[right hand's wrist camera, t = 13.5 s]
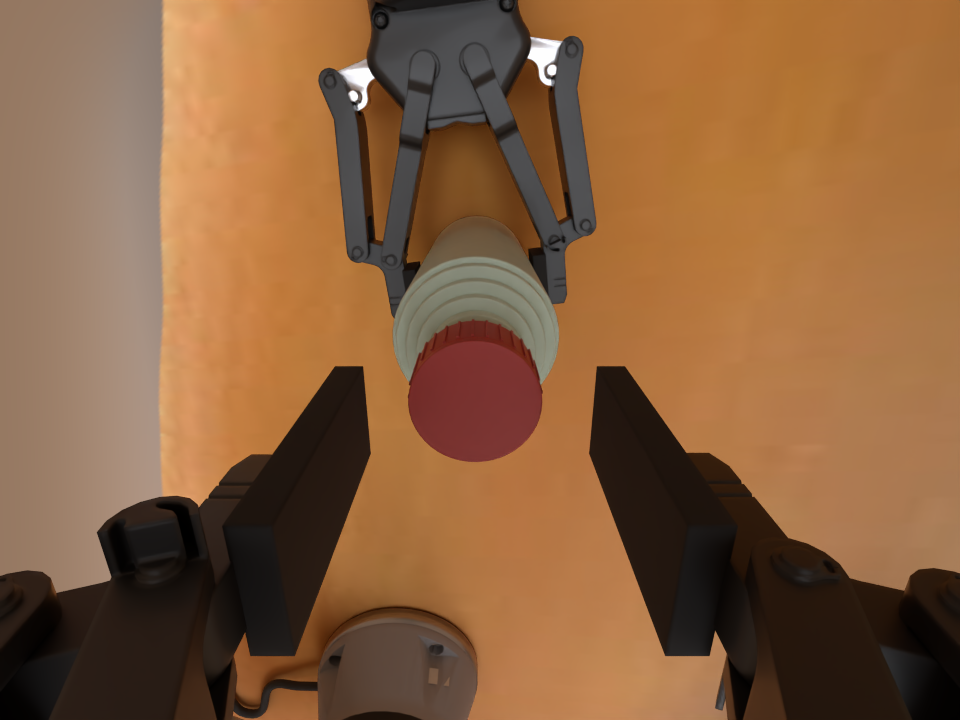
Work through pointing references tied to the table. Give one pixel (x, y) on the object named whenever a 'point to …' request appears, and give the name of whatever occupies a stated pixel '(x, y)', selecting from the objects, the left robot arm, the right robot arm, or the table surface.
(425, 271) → the bottle
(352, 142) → the left robot arm
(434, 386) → the cap
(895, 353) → the table surface
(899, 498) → the table surface
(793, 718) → the right robot arm
